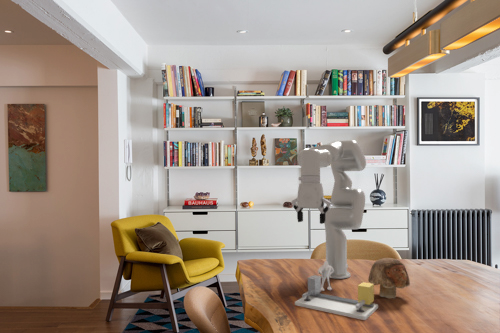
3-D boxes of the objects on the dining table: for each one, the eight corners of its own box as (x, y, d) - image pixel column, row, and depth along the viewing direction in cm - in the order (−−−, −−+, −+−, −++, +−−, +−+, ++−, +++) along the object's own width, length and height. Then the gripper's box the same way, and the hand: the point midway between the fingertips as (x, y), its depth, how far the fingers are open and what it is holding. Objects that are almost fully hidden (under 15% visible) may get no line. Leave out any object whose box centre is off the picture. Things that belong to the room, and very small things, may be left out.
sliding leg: (362, 302, 140) (362, 282, 140) (374, 304, 138) (373, 283, 138) (351, 311, 131) (351, 290, 131) (363, 314, 128) (362, 292, 128)
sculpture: (391, 306, 139) (390, 264, 139) (359, 294, 153) (359, 256, 153) (419, 299, 146) (419, 260, 146) (387, 288, 160) (387, 252, 160)
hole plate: (311, 294, 153) (311, 291, 153) (378, 307, 138) (378, 304, 138) (295, 305, 142) (294, 301, 142) (365, 320, 127) (365, 316, 127)
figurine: (331, 287, 163) (330, 258, 163) (336, 290, 159) (336, 261, 159) (315, 289, 160) (315, 260, 160) (320, 292, 156) (320, 262, 156)
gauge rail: (311, 293, 152) (311, 274, 152) (375, 305, 137) (375, 284, 137) (297, 301, 142) (297, 281, 142) (364, 315, 128) (364, 293, 128)
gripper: (287, 180, 158) (287, 222, 158) (326, 180, 148) (327, 225, 148) (296, 179, 164) (296, 220, 164) (334, 179, 154) (335, 223, 154)
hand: (311, 222), depth 156 cm, fingers open, 9 cm apart
